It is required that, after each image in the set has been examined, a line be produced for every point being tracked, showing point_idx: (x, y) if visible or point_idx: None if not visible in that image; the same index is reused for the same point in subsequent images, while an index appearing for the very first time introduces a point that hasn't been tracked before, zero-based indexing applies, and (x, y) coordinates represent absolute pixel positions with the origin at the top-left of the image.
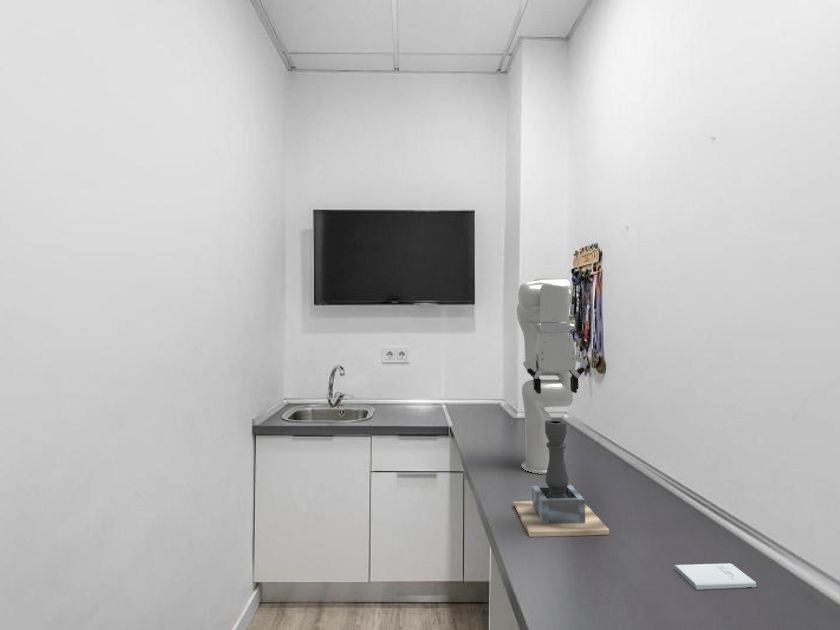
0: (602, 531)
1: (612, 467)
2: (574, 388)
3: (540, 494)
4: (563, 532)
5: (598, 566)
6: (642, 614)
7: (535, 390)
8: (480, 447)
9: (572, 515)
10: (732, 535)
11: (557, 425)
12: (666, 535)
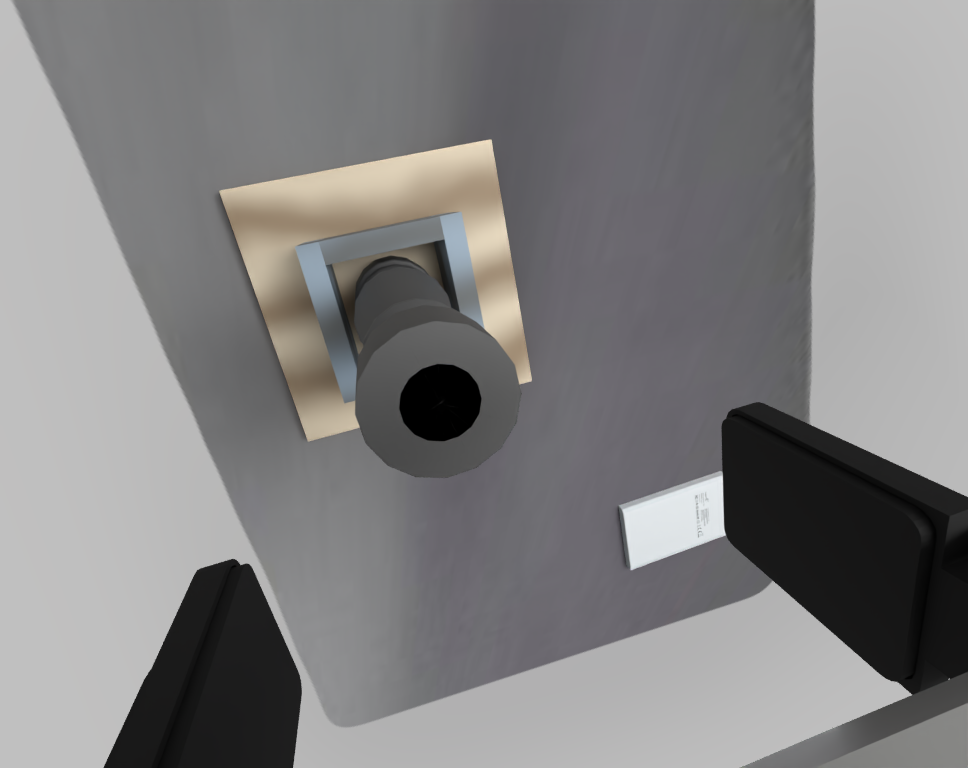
0: None
1: None
2: (767, 569)
3: (334, 342)
4: None
5: (472, 536)
6: (516, 657)
7: (195, 575)
8: None
9: None
10: (802, 321)
11: (447, 474)
12: (663, 351)
